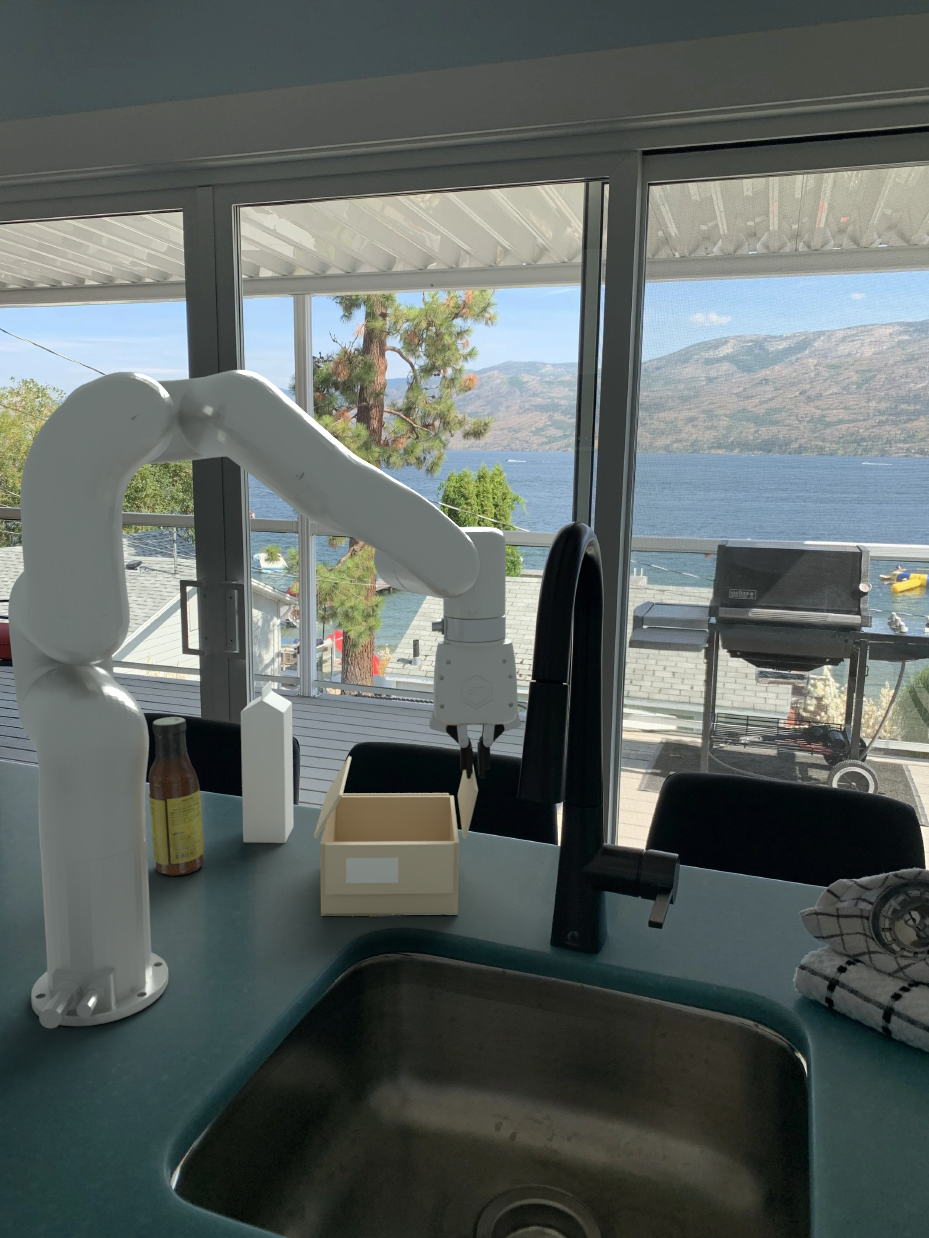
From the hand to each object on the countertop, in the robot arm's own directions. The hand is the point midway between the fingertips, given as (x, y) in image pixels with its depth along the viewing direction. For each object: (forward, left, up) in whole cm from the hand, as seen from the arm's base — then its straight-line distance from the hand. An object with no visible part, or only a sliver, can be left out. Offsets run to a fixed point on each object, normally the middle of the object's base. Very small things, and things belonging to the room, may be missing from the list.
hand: (475, 774), depth 113 cm
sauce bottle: (+6, +38, -15) cm, 41 cm away
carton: (0, +10, -15) cm, 18 cm away
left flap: (0, +17, -3) cm, 17 cm away
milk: (+17, +28, -15) cm, 36 cm away
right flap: (0, +1, -2) cm, 3 cm away
